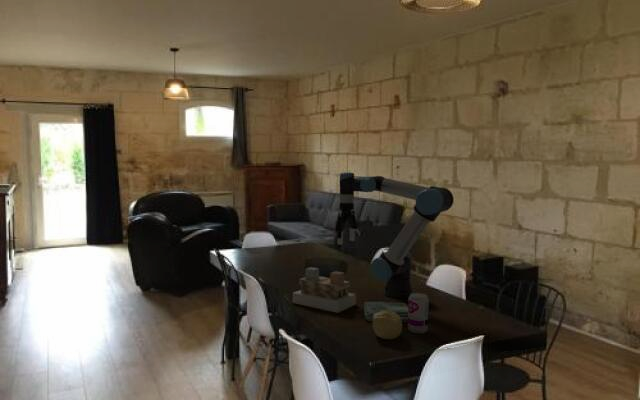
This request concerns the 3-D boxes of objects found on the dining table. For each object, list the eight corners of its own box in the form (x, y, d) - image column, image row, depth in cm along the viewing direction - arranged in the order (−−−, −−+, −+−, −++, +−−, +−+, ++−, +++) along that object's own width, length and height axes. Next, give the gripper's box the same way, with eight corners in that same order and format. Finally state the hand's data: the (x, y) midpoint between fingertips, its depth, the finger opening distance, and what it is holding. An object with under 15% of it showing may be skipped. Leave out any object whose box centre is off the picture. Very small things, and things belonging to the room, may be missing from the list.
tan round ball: (369, 339, 202) (370, 313, 201) (377, 329, 214) (377, 304, 213) (398, 343, 198) (399, 316, 197) (404, 333, 210) (405, 308, 209)
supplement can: (416, 335, 208) (417, 298, 207) (403, 328, 215) (404, 293, 214) (431, 332, 212) (433, 296, 211) (419, 325, 219) (420, 291, 218)
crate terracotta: (344, 282, 245) (344, 272, 244) (338, 284, 241) (338, 274, 240) (335, 280, 247) (335, 271, 247) (330, 283, 243) (330, 273, 243)
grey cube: (319, 278, 253) (319, 268, 252) (313, 279, 249) (313, 270, 248) (311, 276, 255) (311, 267, 255) (305, 278, 251) (305, 268, 251)
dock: (355, 304, 249) (355, 294, 248) (338, 312, 235) (338, 301, 235) (311, 295, 263) (311, 285, 263) (292, 302, 250) (292, 292, 249)
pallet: (349, 294, 247) (349, 281, 247) (337, 300, 238) (337, 286, 237) (312, 287, 259) (312, 274, 259) (299, 292, 250) (299, 279, 250)
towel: (362, 309, 242) (362, 299, 242) (408, 310, 242) (408, 300, 241) (364, 322, 224) (364, 310, 224) (413, 323, 223) (413, 312, 223)
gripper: (351, 200, 280) (350, 238, 282) (328, 203, 259) (328, 245, 261) (363, 200, 276) (363, 239, 278) (341, 204, 255) (341, 246, 257)
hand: (346, 242), depth 269 cm, fingers open, 13 cm apart
